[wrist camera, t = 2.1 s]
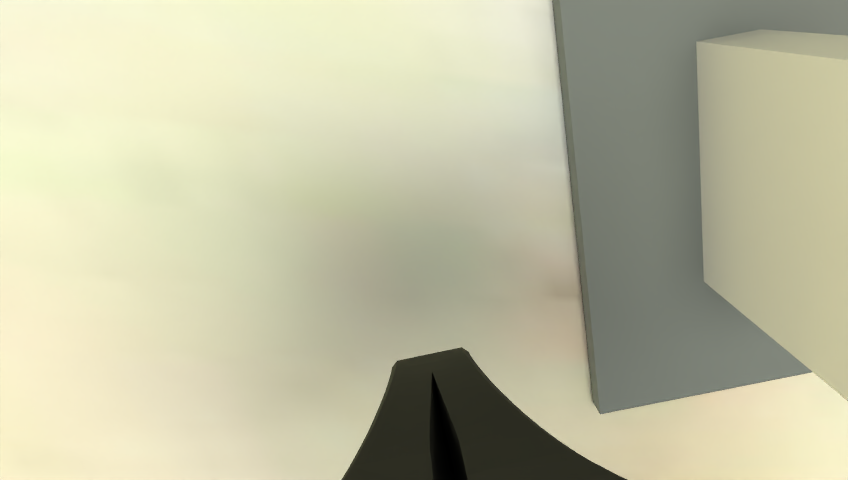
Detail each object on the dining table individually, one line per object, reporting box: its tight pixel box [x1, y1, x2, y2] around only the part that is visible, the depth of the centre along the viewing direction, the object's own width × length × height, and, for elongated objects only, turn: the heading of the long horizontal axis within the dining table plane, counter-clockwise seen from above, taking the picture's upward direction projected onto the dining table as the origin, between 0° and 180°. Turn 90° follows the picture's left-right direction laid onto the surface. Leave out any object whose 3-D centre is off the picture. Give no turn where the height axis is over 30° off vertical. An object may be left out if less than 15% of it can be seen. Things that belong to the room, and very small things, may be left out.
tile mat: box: [553, 0, 848, 414], centre depth 22 cm, size 17×16×1 cm
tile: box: [696, 29, 848, 401], centre depth 17 cm, size 8×2×9 cm, turn 10°
